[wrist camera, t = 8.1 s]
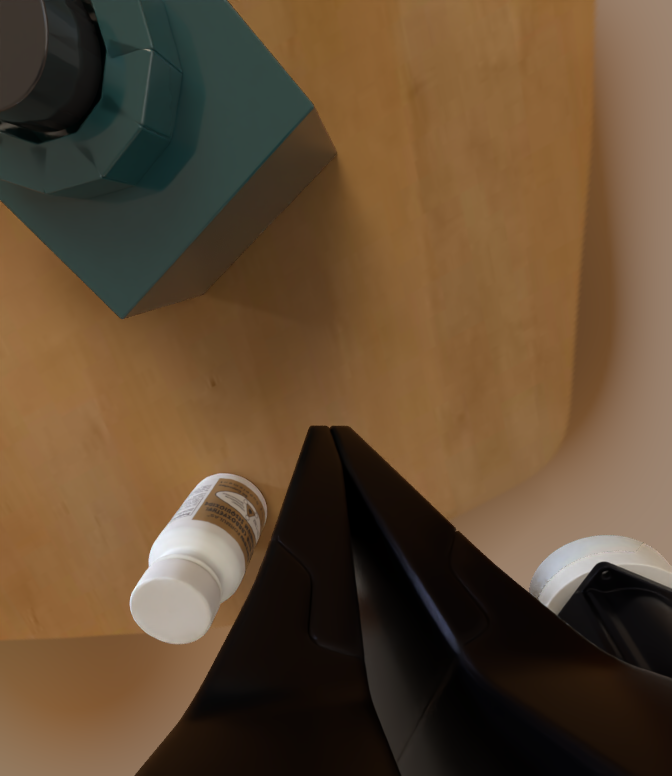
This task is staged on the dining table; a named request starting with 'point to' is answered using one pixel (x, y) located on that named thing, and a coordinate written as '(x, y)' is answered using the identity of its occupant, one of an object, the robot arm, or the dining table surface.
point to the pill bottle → (199, 559)
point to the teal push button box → (166, 154)
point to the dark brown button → (47, 63)
